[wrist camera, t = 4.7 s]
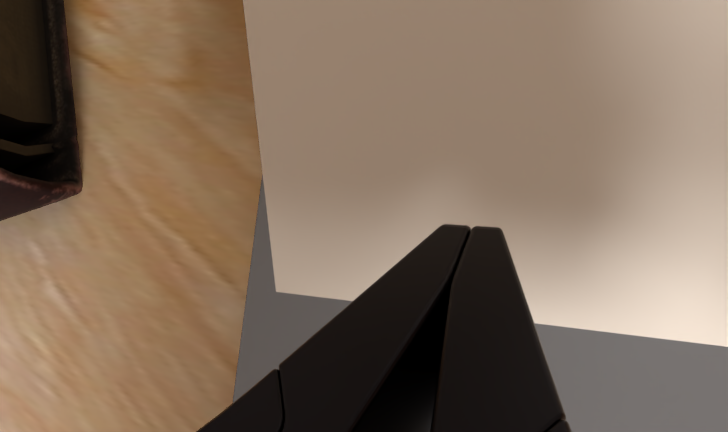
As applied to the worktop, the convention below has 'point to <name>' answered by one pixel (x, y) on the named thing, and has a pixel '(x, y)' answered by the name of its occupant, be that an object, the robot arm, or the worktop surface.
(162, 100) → the worktop surface
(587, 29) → the white rectangular block
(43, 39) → the diary
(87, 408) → the worktop surface
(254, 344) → the mat
